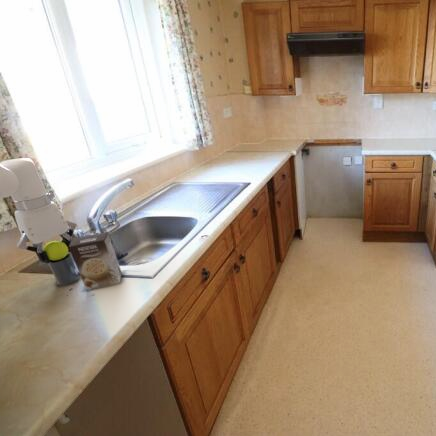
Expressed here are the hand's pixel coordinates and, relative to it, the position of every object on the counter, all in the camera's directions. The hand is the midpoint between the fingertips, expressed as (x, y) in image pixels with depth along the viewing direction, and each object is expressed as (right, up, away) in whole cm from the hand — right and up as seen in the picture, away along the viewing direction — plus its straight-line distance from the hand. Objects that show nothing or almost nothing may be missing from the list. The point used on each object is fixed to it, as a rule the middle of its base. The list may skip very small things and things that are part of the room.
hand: (58, 256), depth 99 cm
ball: (0, +2, -1) cm, 2 cm away
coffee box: (+13, -9, +3) cm, 16 cm away
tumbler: (0, -9, +4) cm, 10 cm away
